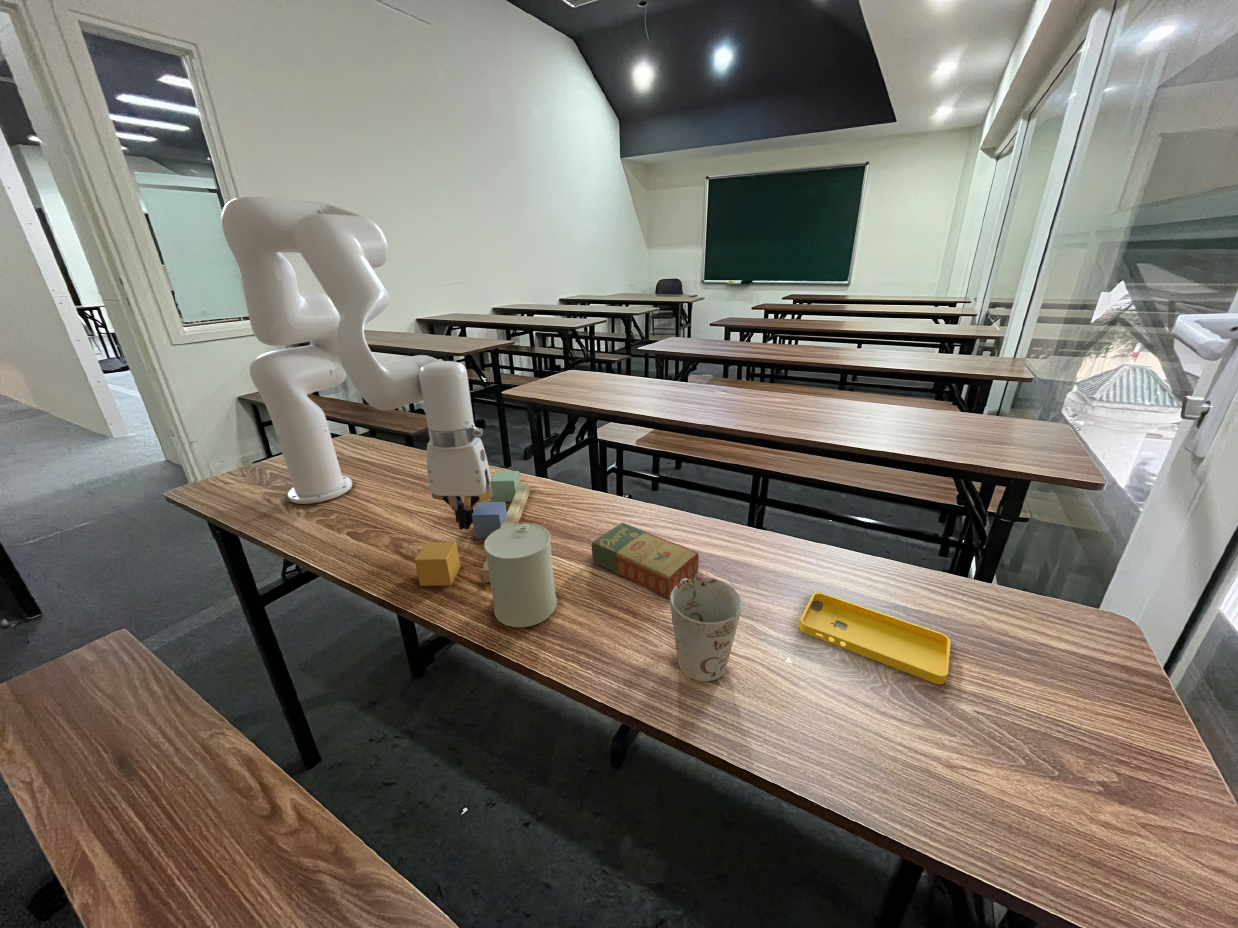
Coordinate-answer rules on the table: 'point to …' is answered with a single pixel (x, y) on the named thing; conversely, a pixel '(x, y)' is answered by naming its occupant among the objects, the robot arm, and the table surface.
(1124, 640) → the table surface
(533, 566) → the can
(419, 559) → the block near
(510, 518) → the wooden bar
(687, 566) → the carton
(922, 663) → the phone case
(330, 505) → the table surface
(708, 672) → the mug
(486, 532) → the block mid
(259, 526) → the table surface
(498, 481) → the block far
